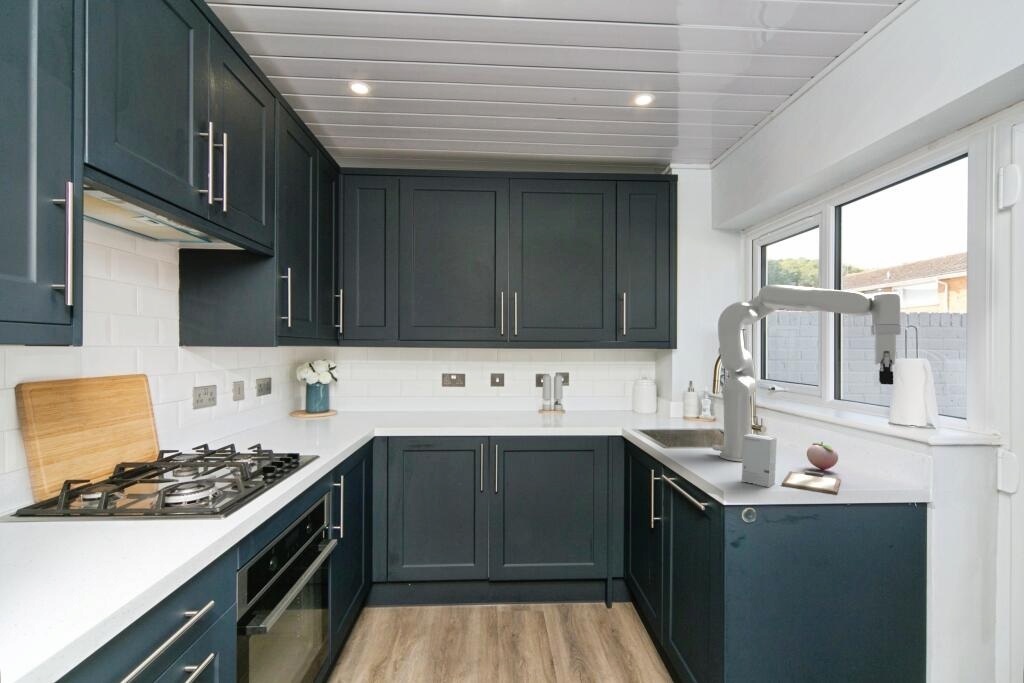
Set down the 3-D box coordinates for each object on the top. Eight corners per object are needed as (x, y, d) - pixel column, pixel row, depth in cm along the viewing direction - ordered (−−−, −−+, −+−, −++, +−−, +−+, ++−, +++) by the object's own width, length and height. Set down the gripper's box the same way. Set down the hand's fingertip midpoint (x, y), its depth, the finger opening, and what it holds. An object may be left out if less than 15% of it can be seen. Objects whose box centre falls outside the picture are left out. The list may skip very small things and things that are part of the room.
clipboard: (781, 485, 144) (781, 479, 144) (789, 473, 157) (789, 468, 157) (836, 494, 135) (836, 488, 135) (840, 481, 148) (840, 475, 148)
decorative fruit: (800, 467, 165) (800, 439, 165) (818, 466, 167) (818, 438, 167) (824, 475, 156) (823, 445, 156) (843, 473, 158) (843, 443, 158)
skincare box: (741, 482, 147) (741, 435, 147) (748, 478, 151) (748, 432, 151) (770, 488, 141) (770, 439, 141) (777, 484, 145) (776, 436, 145)
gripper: (870, 331, 160) (871, 381, 160) (871, 330, 147) (871, 384, 146) (898, 331, 156) (899, 382, 156) (902, 329, 142) (903, 385, 142)
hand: (886, 383), depth 151 cm, fingers open, 9 cm apart
